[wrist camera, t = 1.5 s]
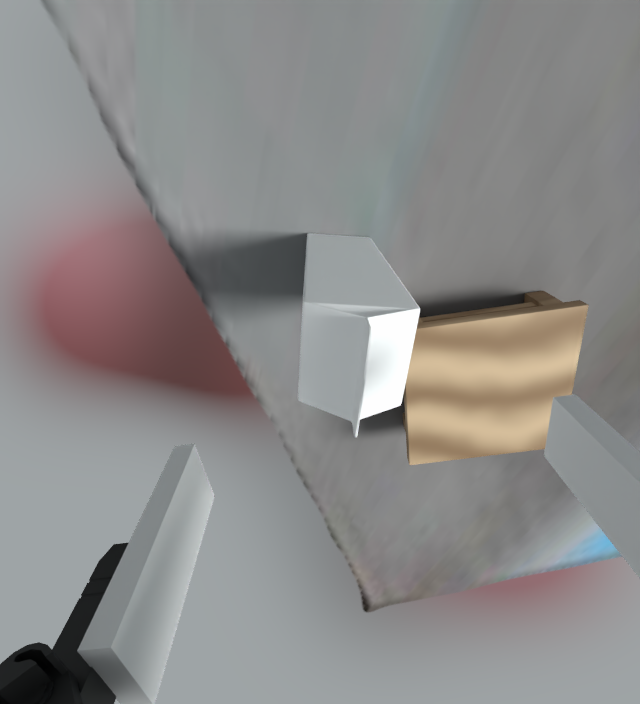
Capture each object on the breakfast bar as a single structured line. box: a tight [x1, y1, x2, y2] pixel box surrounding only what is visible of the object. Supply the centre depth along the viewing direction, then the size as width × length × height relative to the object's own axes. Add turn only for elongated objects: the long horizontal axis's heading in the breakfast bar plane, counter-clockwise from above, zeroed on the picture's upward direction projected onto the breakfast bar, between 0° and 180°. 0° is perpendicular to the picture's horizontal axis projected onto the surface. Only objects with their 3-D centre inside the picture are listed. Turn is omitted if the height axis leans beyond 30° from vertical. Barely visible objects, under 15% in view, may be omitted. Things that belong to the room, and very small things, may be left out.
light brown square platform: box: [403, 291, 588, 465], centre depth 40 cm, size 16×16×6 cm
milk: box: [298, 233, 420, 437], centre depth 27 cm, size 6×6×22 cm
